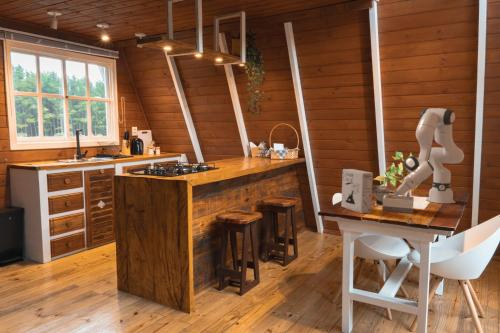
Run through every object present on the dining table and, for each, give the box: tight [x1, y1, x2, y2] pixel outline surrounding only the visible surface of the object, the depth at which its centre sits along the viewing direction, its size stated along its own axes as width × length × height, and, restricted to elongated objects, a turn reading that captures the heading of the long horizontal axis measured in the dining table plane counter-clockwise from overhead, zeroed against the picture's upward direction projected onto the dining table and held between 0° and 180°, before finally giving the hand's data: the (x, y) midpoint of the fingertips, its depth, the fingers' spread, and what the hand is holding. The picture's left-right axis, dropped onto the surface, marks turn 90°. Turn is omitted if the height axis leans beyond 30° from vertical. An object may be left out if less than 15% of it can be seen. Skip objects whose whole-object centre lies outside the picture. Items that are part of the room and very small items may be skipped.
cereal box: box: [341, 168, 374, 214], centre depth 252 cm, size 22×8×25 cm, turn 21°
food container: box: [374, 188, 394, 206], centre depth 271 cm, size 12×6×10 cm, turn 74°
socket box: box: [381, 195, 414, 214], centre depth 254 cm, size 14×18×8 cm
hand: (393, 195), depth 254 cm, fingers open, 8 cm apart
